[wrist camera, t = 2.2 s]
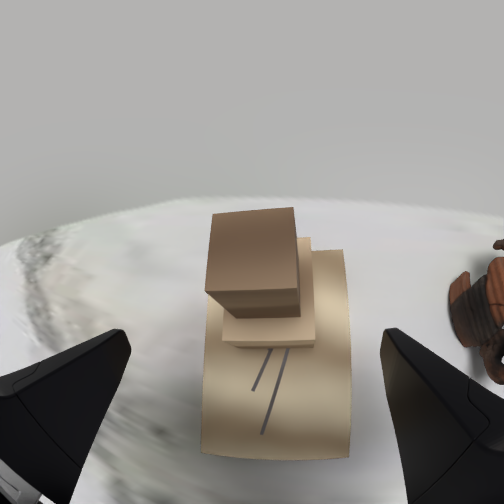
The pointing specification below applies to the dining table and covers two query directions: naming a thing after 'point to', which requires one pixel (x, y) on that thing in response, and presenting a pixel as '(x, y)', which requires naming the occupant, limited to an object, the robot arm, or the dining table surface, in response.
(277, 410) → the pine board
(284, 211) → the block
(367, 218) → the dining table surface
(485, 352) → the pottery mug
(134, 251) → the dining table surface
